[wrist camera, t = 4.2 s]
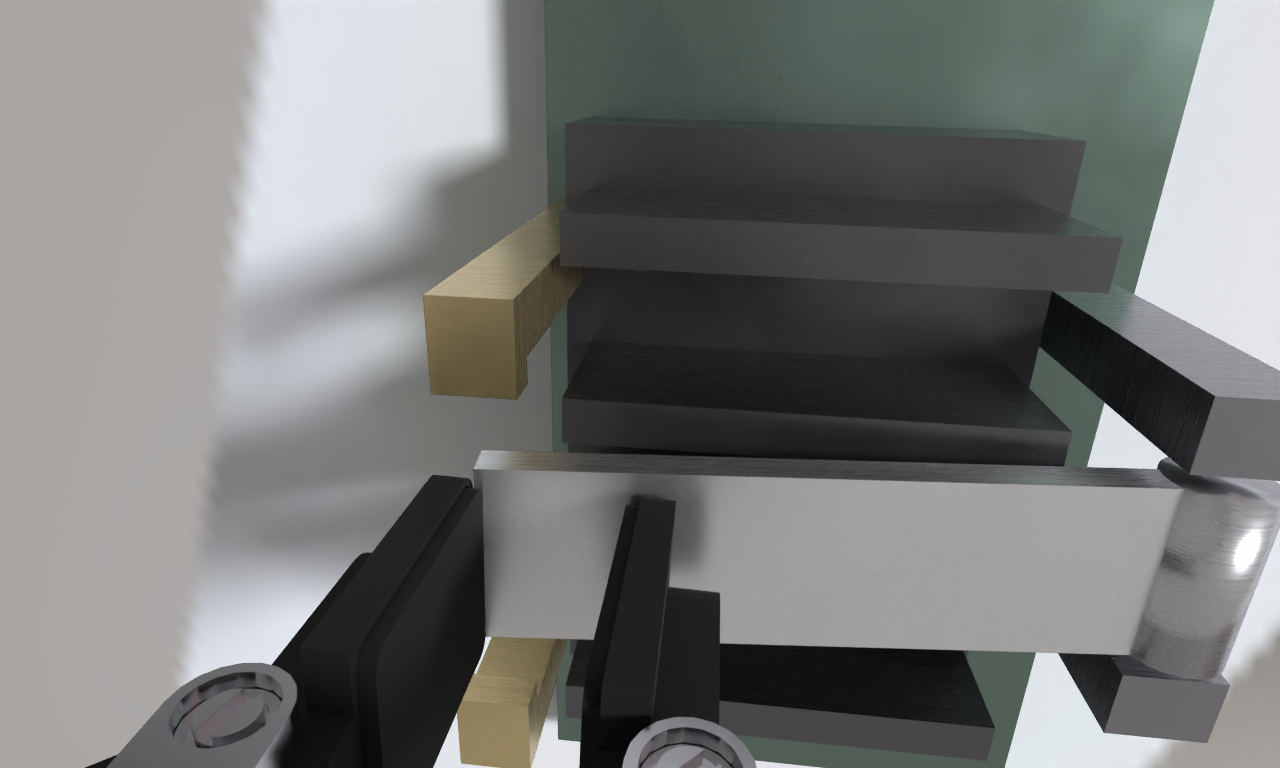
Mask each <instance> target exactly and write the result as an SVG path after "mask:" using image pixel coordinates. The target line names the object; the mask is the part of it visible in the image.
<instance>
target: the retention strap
mask: <svg viewBox="0 0 1280 768" xmlns="http://www.w3.org/2000/svg"><path fill="white" fill-rule="evenodd" d="M473 472H474V488H475V489H481V490H482V491H483V532H484V583H485V637H516V638H551V639H586V640H594V636H595V632H596V628H597V624H598V619H599V615H600V611H601V607H602V603H603V599H604V594H605V590H606V586H607V582H608V578H609V574H610V569H611V565H612V561H613V557H614V553H615V549H616V544H617V540H618V536H619V532H620V528H621V524H622V519H623V515H624V511H625V507H626V505H635V506H639V504H640V499H641V497H649V498H659V499H668V500H677V501H676V514H675V525H674V536H673V548H672V559H671V570H670V581H669V587H675V588H684V589H693V590H702V591H711V592H719V593H720V643H726V644H761V645H796V646H831V647H866V648H901V649H936V650H971V651H1006V652H1041V653H1076V654H1111V655H1131V656H1132V657H1134V658H1135V659H1137V660H1138V661H1140V662H1142V663H1144V664H1146V665H1148V666H1150V667H1152V668H1154V669H1156V670H1159V671H1161V672H1164V673H1167V674H1170V675H1174V676H1178V677H1182V678H1188V679H1210V678H1213V677H1216V676H1218V675H1220V674H1221V673H1222V672H1223V670H1224V668H1225V666H1226V663H1227V661H1228V658H1229V655H1230V653H1231V650H1232V648H1233V645H1234V643H1235V640H1236V638H1237V635H1238V632H1239V630H1240V627H1241V625H1242V622H1243V620H1244V617H1245V615H1246V612H1247V610H1248V607H1249V604H1250V602H1251V599H1252V597H1253V594H1254V592H1255V589H1256V587H1257V584H1258V581H1259V579H1260V576H1261V574H1262V571H1263V569H1264V566H1265V564H1266V561H1267V558H1268V556H1269V553H1270V551H1271V548H1272V546H1273V543H1274V541H1275V538H1276V535H1277V533H1278V530H1279V528H1280V484H1278V483H1277V482H1275V481H1273V480H1259V479H1245V478H1230V477H1216V476H1202V475H1189V474H1188V473H1187V472H1186V471H1185V470H1183V469H1182V468H1181V467H1180V466H1179V465H1177V464H1176V463H1175V462H1174V461H1173V460H1172V459H1170V458H1169V457H1167V458H1165V459H1162V460H1161V461H1160V462H1159V464H1158V467H1157V469H1127V468H1092V467H1056V466H1021V465H986V464H951V463H916V462H880V461H845V460H810V459H775V458H740V457H704V456H669V455H634V454H599V453H563V452H528V451H493V450H482V451H481V453H480V455H479V457H478V460H477V462H476V464H475V466H474V469H473Z"/></svg>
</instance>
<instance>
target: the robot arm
mask: <svg viewBox="0 0 1280 768" xmlns="http://www.w3.org/2000/svg"><path fill="white" fill-rule="evenodd" d="M676 501H677V500H668V499H659V498H649V497H641V499H640V504H639V506H635V505H626V507H625V511H624V515H623V519H622V524H621V528H620V532H619V536H618V540H617V544H616V549H615V553H614V557H613V561H612V565H611V569H610V574H609V578H608V582H607V586H606V590H605V594H604V599H603V603H602V607H601V611H600V615H599V619H598V624H597V628H596V632H595V636H594V640H593V644H592V648H591V653H590V657H589V661H588V666H587V670H586V676H585V683H584V691H583V701H582V720H581V743H580V767H579V768H756V763H755V760H754V759H753V757H752V755H751V753H750V752H749V750H748V748H747V747H746V745H745V744H744V743H743V742H742V741H741V740H739V739H738V738H737V737H736V736H735V735H734V734H733V733H732V732H730V731H729V730H727V729H725V728H723V727H721V726H719V698H720V593H719V592H711V591H702V590H693V589H684V588H675V587H669V581H670V570H671V559H672V548H673V536H674V525H675V514H676ZM484 643H485V583H484V532H483V491H482V490H481V489H475V488H473V486H472V482H471V480H470V479H469V478H459V477H450V476H440V475H432V476H431V477H430V478H429V480H428V481H427V482H426V483H425V485H424V486H423V487H422V489H421V490H420V491H419V493H418V494H417V495H416V497H415V498H414V499H413V500H412V502H411V503H410V504H409V506H408V507H407V508H406V510H405V511H404V512H403V513H402V515H401V516H400V517H399V519H398V520H397V521H396V523H395V524H394V525H393V526H392V528H391V529H390V530H389V532H388V533H387V534H386V536H385V537H384V538H383V539H382V541H381V542H380V543H379V545H378V546H377V547H376V549H375V550H374V551H373V553H363V554H361V555H360V556H359V557H357V558H356V559H355V560H354V562H353V563H352V564H351V566H350V567H349V568H348V569H347V571H346V572H345V573H344V574H343V576H342V577H341V578H340V579H339V581H338V582H337V583H336V584H335V586H334V587H333V588H332V589H331V591H330V592H329V593H328V594H327V596H326V597H325V598H324V600H323V601H322V602H321V603H320V605H319V606H318V607H317V608H316V610H315V611H314V612H313V613H312V615H311V616H310V617H309V618H308V620H307V621H306V622H305V623H304V625H303V626H302V627H301V629H300V630H299V631H298V632H297V634H296V635H295V636H294V637H293V639H292V640H291V641H290V642H289V644H288V645H287V646H286V647H285V649H284V650H283V651H282V652H281V654H280V655H279V656H278V658H277V659H276V660H275V661H274V663H273V664H272V665H268V664H264V663H241V664H236V665H231V666H226V667H221V668H218V669H216V670H213V671H211V672H208V673H205V674H203V675H200V676H198V677H197V678H195V679H193V680H192V681H190V682H188V683H187V684H185V685H183V686H182V687H180V688H179V689H178V690H177V691H176V692H175V693H174V694H172V695H171V696H170V697H169V698H168V699H167V700H166V701H165V702H164V703H163V704H162V705H161V706H160V708H159V709H158V710H157V711H156V712H155V713H154V714H153V715H152V717H151V718H150V719H149V720H148V721H147V722H146V723H145V725H144V726H143V727H142V728H141V729H140V730H139V731H138V732H137V734H136V735H135V736H134V737H133V738H132V739H131V740H130V741H129V743H128V744H127V745H126V746H125V747H124V748H123V749H122V751H121V752H120V753H119V754H118V755H116V756H113V757H111V758H108V759H106V760H103V761H101V762H98V763H96V764H93V765H91V766H88V767H86V768H433V766H434V764H435V762H436V759H437V757H438V755H439V752H440V750H441V748H442V746H443V743H444V741H445V739H446V736H447V734H448V732H449V729H450V727H451V725H452V722H453V720H454V718H455V715H456V713H457V711H458V709H459V706H460V704H461V702H462V699H463V697H464V695H465V692H466V690H467V688H468V685H469V683H470V681H471V678H472V676H473V674H474V672H475V669H476V667H477V665H478V662H479V660H480V658H481V655H482V652H483V648H484Z"/></svg>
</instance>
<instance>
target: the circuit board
mask: <svg viewBox="0 0 1280 768" xmlns="http://www.w3.org/2000/svg"><path fill="white" fill-rule="evenodd" d="M1213 3H1214V0H545V38H546V93H547V148H548V204H549V207H547V208H546V209H545V210H543V211H542V212H540V213H539V214H537V215H536V216H535V217H533V218H532V219H530V220H529V221H527V222H526V223H525V224H523V225H522V226H520V227H519V228H517V229H516V230H515V231H513V232H512V233H510V234H509V235H507V236H506V237H505V238H503V239H502V240H500V241H499V242H497V243H496V244H495V245H493V246H492V247H490V248H489V249H487V250H486V251H485V252H483V253H482V254H480V255H479V256H478V257H476V258H475V259H473V260H472V261H470V262H469V263H468V264H466V265H465V266H463V267H462V268H460V269H459V270H458V271H456V272H455V273H453V274H452V275H450V276H449V277H448V278H446V279H445V280H443V281H442V282H440V283H439V284H438V285H436V286H435V287H433V288H432V289H430V290H429V291H428V292H426V293H425V294H423V302H424V314H425V326H426V339H427V351H428V363H429V375H430V388H431V394H438V395H453V396H468V397H483V398H498V399H513V400H517V399H518V397H519V396H520V394H521V393H522V391H523V390H524V388H525V387H526V385H527V384H528V383H527V356H528V355H529V353H530V352H531V351H532V349H533V348H534V347H535V345H536V344H537V342H538V341H539V340H540V338H541V337H542V336H543V334H544V333H545V331H546V330H547V329H548V327H549V326H550V325H551V370H552V425H553V452H563V453H599V454H634V455H669V456H704V457H740V458H775V459H810V460H845V461H880V462H916V463H951V464H986V465H1021V466H1056V467H1087V464H1088V460H1089V457H1090V453H1091V449H1092V446H1093V442H1094V438H1095V435H1096V431H1097V427H1098V424H1099V420H1100V417H1101V413H1102V409H1103V406H1104V402H1105V403H1106V404H1107V405H1108V406H1110V407H1111V408H1112V409H1113V410H1114V411H1115V412H1117V413H1118V414H1119V415H1120V416H1121V417H1122V418H1124V419H1125V420H1126V421H1127V422H1128V423H1129V424H1131V425H1132V426H1133V427H1134V428H1135V429H1136V430H1138V431H1139V432H1140V433H1141V434H1142V435H1143V436H1145V437H1146V438H1147V439H1148V440H1149V441H1151V442H1152V443H1153V444H1154V445H1155V446H1156V447H1158V448H1159V449H1160V450H1161V451H1162V452H1163V453H1165V454H1166V455H1167V456H1168V457H1169V458H1170V459H1172V460H1173V461H1174V462H1175V463H1176V464H1177V465H1179V466H1180V467H1181V468H1182V469H1183V470H1185V471H1186V472H1187V473H1188V474H1189V475H1202V476H1216V477H1230V478H1245V479H1259V480H1273V481H1280V371H1279V370H1277V369H1275V368H1273V367H1271V366H1269V365H1267V364H1265V363H1264V362H1262V361H1260V360H1258V359H1256V358H1254V357H1252V356H1250V355H1248V354H1246V353H1245V352H1243V351H1241V350H1239V349H1237V348H1235V347H1233V346H1231V345H1229V344H1227V343H1225V342H1224V341H1222V340H1220V339H1218V338H1216V337H1214V336H1212V335H1210V334H1208V333H1206V332H1205V331H1203V330H1201V329H1199V328H1197V327H1195V326H1193V325H1191V324H1189V323H1187V322H1186V321H1184V320H1182V319H1180V318H1178V317H1176V316H1174V315H1172V314H1170V313H1168V312H1167V311H1165V310H1163V309H1161V308H1159V307H1157V306H1155V305H1153V304H1151V303H1149V302H1147V301H1146V300H1144V299H1142V298H1140V297H1138V296H1136V295H1134V292H1135V288H1136V285H1137V281H1138V278H1139V274H1140V270H1141V267H1142V263H1143V259H1144V256H1145V252H1146V248H1147V245H1148V241H1149V237H1150V234H1151V230H1152V226H1153V223H1154V219H1155V215H1156V212H1157V208H1158V204H1159V201H1160V197H1161V193H1162V190H1163V186H1164V182H1165V179H1166V175H1167V171H1168V168H1169V164H1170V160H1171V157H1172V153H1173V149H1174V146H1175V142H1176V139H1177V135H1178V131H1179V128H1180V124H1181V120H1182V117H1183V113H1184V109H1185V106H1186V102H1187V98H1188V95H1189V91H1190V87H1191V84H1192V80H1193V76H1194V73H1195V69H1196V65H1197V62H1198V58H1199V54H1200V51H1201V47H1202V43H1203V40H1204V36H1205V32H1206V29H1207V25H1208V21H1209V18H1210V14H1211V10H1212V7H1213ZM592 644H593V640H586V639H551V638H516V637H492V638H491V640H490V643H489V645H488V647H487V650H486V652H485V655H484V657H483V659H482V662H481V664H480V666H479V669H478V671H477V673H476V674H473V676H472V678H471V681H470V683H469V685H468V688H467V690H466V692H465V695H464V697H463V699H462V702H461V704H460V706H459V709H458V711H457V719H458V731H459V743H460V755H461V763H463V764H472V765H481V766H490V767H499V768H531V767H532V764H533V760H534V757H535V753H536V750H537V746H538V743H539V739H540V736H541V732H542V729H543V725H544V722H545V718H546V715H547V711H548V708H549V704H550V701H551V697H552V694H553V690H554V687H555V683H556V680H557V702H558V739H559V740H569V741H578V742H581V720H582V701H583V691H584V683H585V676H586V670H587V666H588V661H589V657H590V653H591V648H592ZM1035 654H1036V652H1006V651H971V650H936V649H901V648H866V647H831V646H796V645H761V644H726V643H720V698H719V726H721V727H723V728H725V729H727V730H729V731H730V732H732V733H733V734H734V735H735V736H736V737H737V738H738V739H739V740H741V741H742V742H743V743H744V744H745V745H746V747H747V748H748V750H749V752H750V753H751V755H752V757H753V759H754V760H757V761H766V762H776V763H785V764H794V765H804V766H813V767H823V768H1005V764H1006V760H1007V757H1008V753H1009V749H1010V746H1011V742H1012V738H1013V735H1014V731H1015V727H1016V724H1017V720H1018V716H1019V713H1020V709H1021V705H1022V702H1023V698H1024V695H1025V691H1026V687H1027V684H1028V680H1029V676H1030V673H1031V669H1032V665H1033V662H1034V658H1035ZM1058 654H1059V656H1060V657H1061V659H1062V661H1063V663H1064V664H1065V666H1066V668H1067V670H1068V671H1069V673H1070V675H1071V676H1072V678H1073V680H1074V682H1075V683H1076V685H1077V687H1078V689H1079V690H1080V692H1081V694H1082V696H1083V697H1084V699H1085V701H1086V702H1087V704H1088V706H1089V708H1090V709H1091V711H1092V713H1093V715H1094V716H1095V718H1096V720H1097V722H1098V723H1099V725H1100V727H1101V728H1102V730H1103V732H1104V733H1112V734H1122V735H1132V736H1142V737H1152V738H1162V739H1172V740H1182V741H1192V742H1204V743H1207V742H1208V739H1209V737H1210V734H1211V732H1212V729H1213V727H1214V724H1215V722H1216V719H1217V717H1218V714H1219V712H1220V709H1221V707H1222V704H1223V702H1224V699H1225V697H1226V694H1227V692H1228V689H1229V687H1230V684H1229V683H1228V682H1227V681H1226V680H1225V678H1224V677H1223V676H1222V675H1221V674H1220V675H1218V676H1216V677H1213V678H1210V679H1188V678H1182V677H1178V676H1174V675H1170V674H1167V673H1164V672H1161V671H1159V670H1156V669H1154V668H1152V667H1150V666H1148V665H1146V664H1144V663H1142V662H1140V661H1138V660H1137V659H1135V658H1134V657H1132V656H1131V655H1111V654H1076V653H1058Z"/></svg>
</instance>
